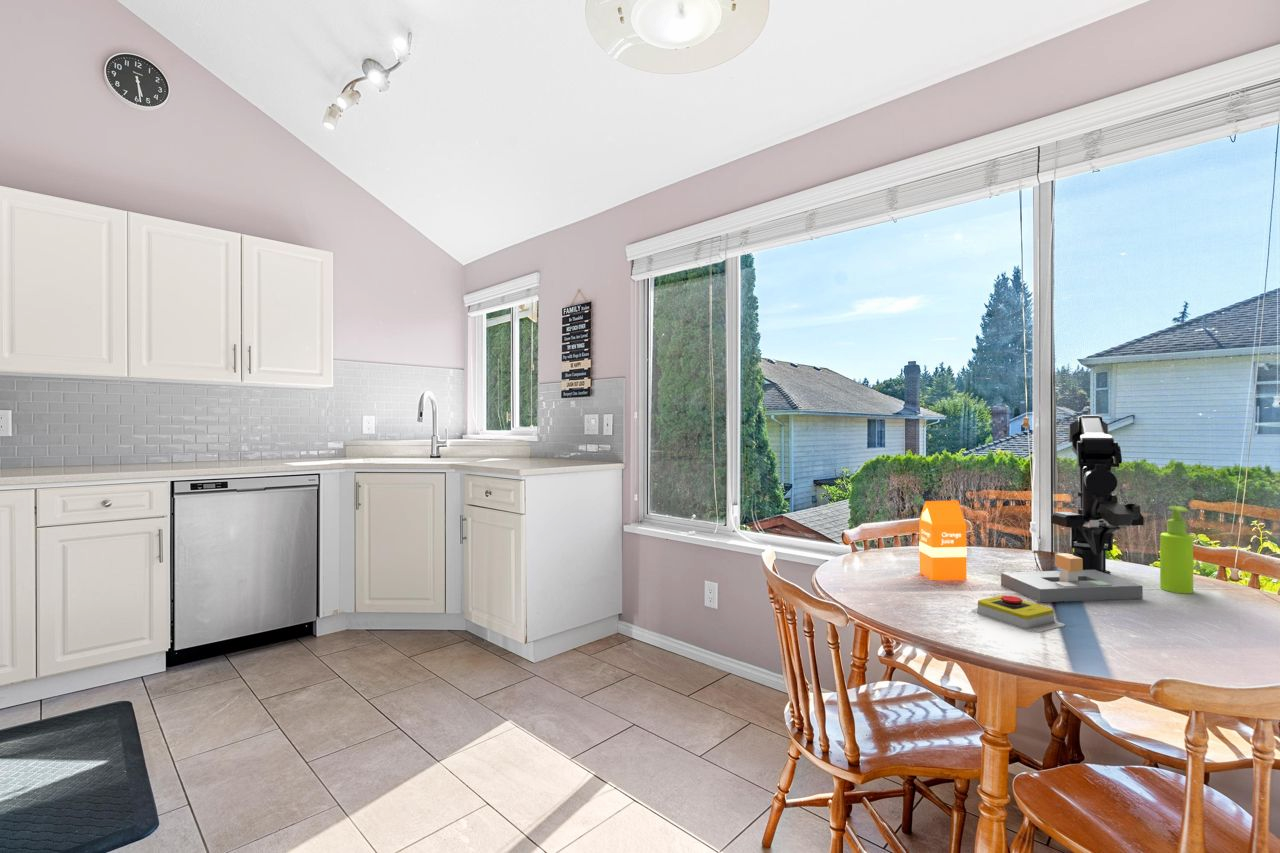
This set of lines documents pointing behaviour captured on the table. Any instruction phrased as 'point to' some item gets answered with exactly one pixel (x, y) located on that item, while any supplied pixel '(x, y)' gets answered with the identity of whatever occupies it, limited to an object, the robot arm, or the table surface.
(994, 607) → the emergency button
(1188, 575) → the soap dispenser
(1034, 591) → the breaker box
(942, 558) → the orange juice
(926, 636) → the table surface
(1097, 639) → the table surface
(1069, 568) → the lever
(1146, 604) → the table surface
